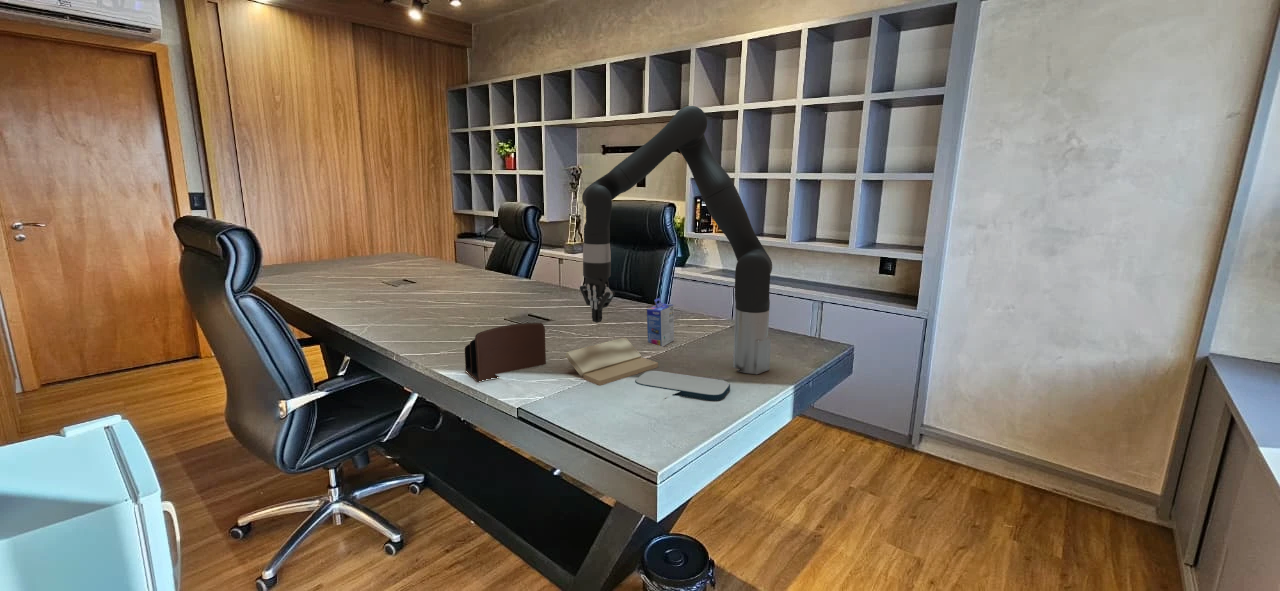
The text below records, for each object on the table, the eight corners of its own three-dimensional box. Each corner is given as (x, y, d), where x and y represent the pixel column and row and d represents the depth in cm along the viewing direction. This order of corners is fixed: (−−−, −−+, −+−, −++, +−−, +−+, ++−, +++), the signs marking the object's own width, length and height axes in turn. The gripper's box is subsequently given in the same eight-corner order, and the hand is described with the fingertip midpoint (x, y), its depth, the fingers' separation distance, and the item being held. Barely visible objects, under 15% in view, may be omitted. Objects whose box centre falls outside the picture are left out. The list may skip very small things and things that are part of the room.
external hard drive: (732, 388, 148) (733, 381, 148) (720, 404, 138) (720, 396, 138) (648, 376, 157) (648, 369, 157) (630, 390, 147) (630, 382, 147)
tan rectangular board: (660, 370, 160) (660, 362, 160) (596, 391, 145) (596, 381, 144) (621, 357, 172) (621, 349, 172) (558, 375, 157) (557, 366, 156)
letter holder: (546, 369, 162) (545, 320, 159) (478, 383, 151) (475, 331, 148) (531, 359, 170) (529, 313, 167) (465, 372, 159) (462, 323, 156)
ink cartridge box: (659, 338, 193) (659, 295, 190) (674, 340, 190) (675, 297, 187) (646, 345, 184) (646, 301, 181) (661, 348, 182) (662, 303, 179)
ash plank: (639, 359, 165) (641, 355, 164) (581, 376, 150) (583, 372, 150) (623, 341, 169) (625, 337, 168) (565, 356, 155) (566, 352, 154)
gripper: (623, 261, 154) (623, 324, 158) (592, 255, 163) (592, 315, 167) (601, 264, 149) (601, 328, 152) (570, 258, 158) (571, 319, 162)
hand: (596, 321), depth 160 cm, fingers closed
